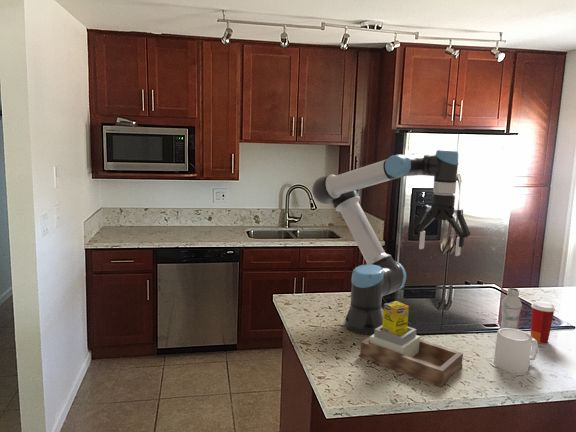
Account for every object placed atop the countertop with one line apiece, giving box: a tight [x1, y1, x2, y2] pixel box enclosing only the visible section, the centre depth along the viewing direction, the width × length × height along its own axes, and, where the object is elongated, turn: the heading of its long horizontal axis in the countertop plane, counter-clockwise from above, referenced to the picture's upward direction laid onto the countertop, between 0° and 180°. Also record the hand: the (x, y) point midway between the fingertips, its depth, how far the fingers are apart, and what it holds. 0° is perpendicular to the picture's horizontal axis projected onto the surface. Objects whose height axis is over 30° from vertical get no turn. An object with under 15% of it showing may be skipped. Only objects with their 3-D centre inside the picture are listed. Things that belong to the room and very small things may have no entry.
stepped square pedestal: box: [369, 325, 421, 358], centre depth 155 cm, size 12×12×8 cm
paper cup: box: [530, 300, 556, 345], centre depth 170 cm, size 8×8×14 cm
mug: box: [493, 328, 539, 374], centre depth 151 cm, size 14×10×11 cm
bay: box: [359, 336, 464, 388], centre depth 152 cm, size 28×17×5 cm, turn 49°
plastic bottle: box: [499, 287, 523, 330], centre depth 167 cm, size 6×7×20 cm
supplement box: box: [382, 300, 410, 336], centre depth 154 cm, size 6×6×11 cm
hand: (439, 252), depth 169 cm, fingers open, 13 cm apart
